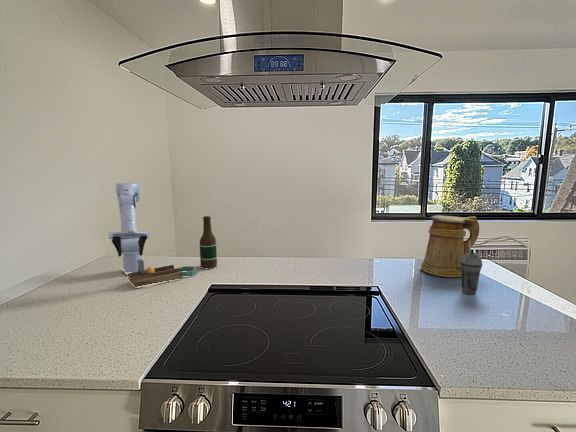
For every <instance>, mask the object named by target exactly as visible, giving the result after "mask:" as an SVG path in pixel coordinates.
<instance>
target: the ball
mask: <svg viewBox="0 0 576 432" xmlns="http://www.w3.org/2000/svg"><path fill="white" fill-rule="evenodd" d="M154 268H155V267H153V266H148V267H146V269H145V270H146V274H150V273H154V272H155V270H154Z"/></svg>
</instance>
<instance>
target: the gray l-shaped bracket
mask: <svg viewBox="0 0 576 432" xmlns="http://www.w3.org/2000/svg"><path fill="white" fill-rule="evenodd" d="M137 262H138V276H140V275H145V274H146V269H145V263H144V260H143V259H142V258H141V259H140V260H137Z"/></svg>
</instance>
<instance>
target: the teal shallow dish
mask: <svg viewBox="0 0 576 432" xmlns="http://www.w3.org/2000/svg"><path fill="white" fill-rule="evenodd" d="M178 268H179V272H180V274H181V276H192V275H194V274H197V267H195V266H191V265H189V266H188V265H185V266H180V267H178ZM182 271H187V272H182ZM194 276H195V275H194ZM192 277H193V276H192Z"/></svg>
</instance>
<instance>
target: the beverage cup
mask: <svg viewBox="0 0 576 432" xmlns="http://www.w3.org/2000/svg"><path fill="white" fill-rule="evenodd" d="M471 250H472V247H471V245H470V241H469V251H468V253H466V254H465V255H464V256H463V257H462V259H461V262H460V263H461V272H462V277H461V292H462V293H461V294H463V295H465V296H476V294H477V290H478V284H479V279H480V275H481V274H480V273H481V270H482V267H483V260H482V258H481V257H480V256H479V255H478V253H476V252H472V251H471Z"/></svg>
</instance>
